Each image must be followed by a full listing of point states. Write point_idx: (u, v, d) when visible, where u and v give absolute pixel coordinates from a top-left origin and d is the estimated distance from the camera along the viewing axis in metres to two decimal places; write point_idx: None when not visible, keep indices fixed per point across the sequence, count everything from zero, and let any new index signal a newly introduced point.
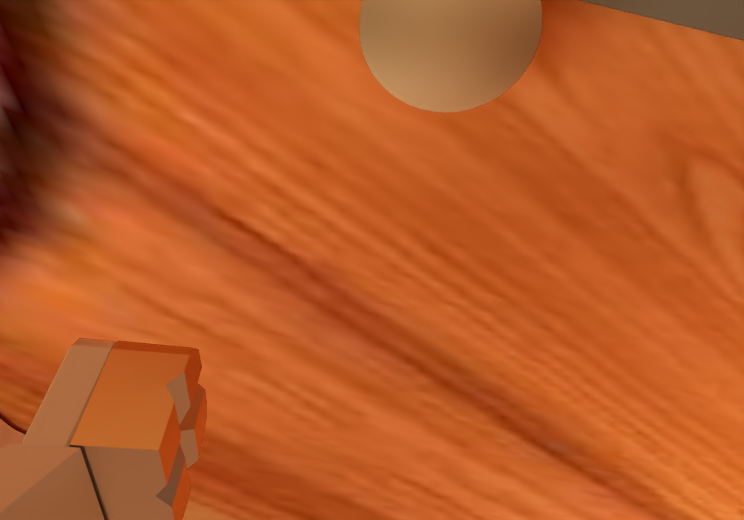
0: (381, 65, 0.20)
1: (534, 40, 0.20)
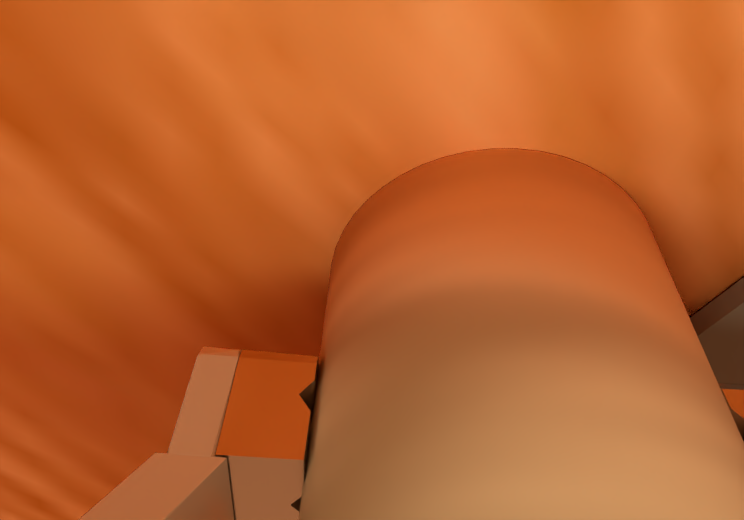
0: None
1: None
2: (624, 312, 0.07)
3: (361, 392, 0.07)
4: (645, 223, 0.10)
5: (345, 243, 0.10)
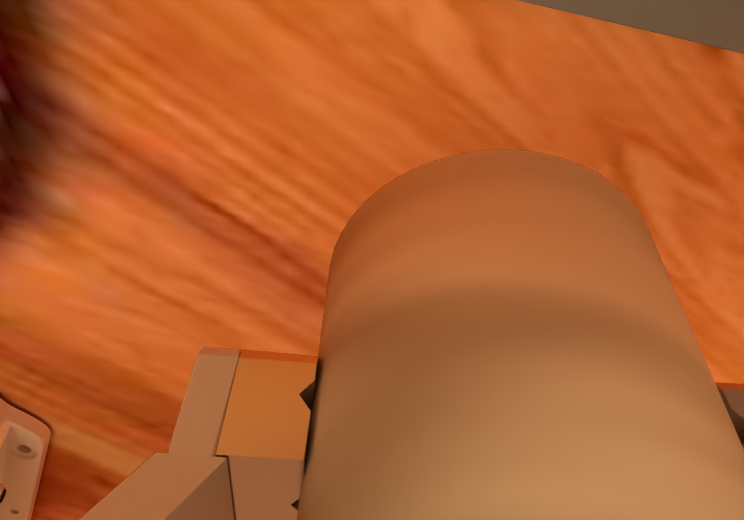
0: None
1: None
2: (621, 313, 0.07)
3: (359, 392, 0.07)
4: (643, 224, 0.10)
5: (344, 244, 0.10)
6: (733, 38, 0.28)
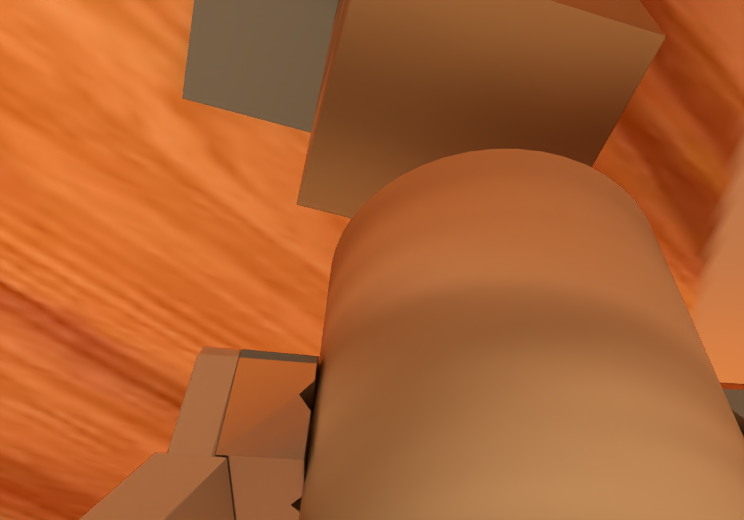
0: None
1: None
2: (627, 313, 0.07)
3: (362, 393, 0.07)
4: (647, 223, 0.10)
5: (345, 244, 0.10)
6: None
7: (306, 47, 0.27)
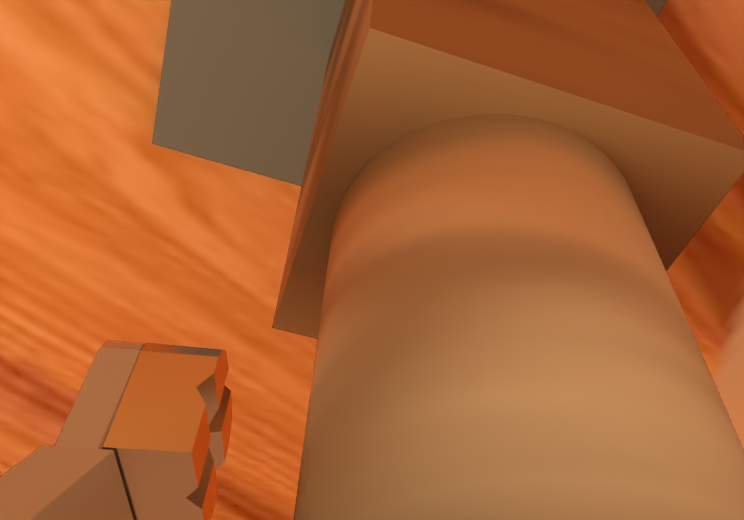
0: None
1: None
2: (600, 252, 0.08)
3: (361, 325, 0.08)
4: (625, 184, 0.10)
5: (345, 204, 0.11)
6: None
7: (294, 93, 0.23)
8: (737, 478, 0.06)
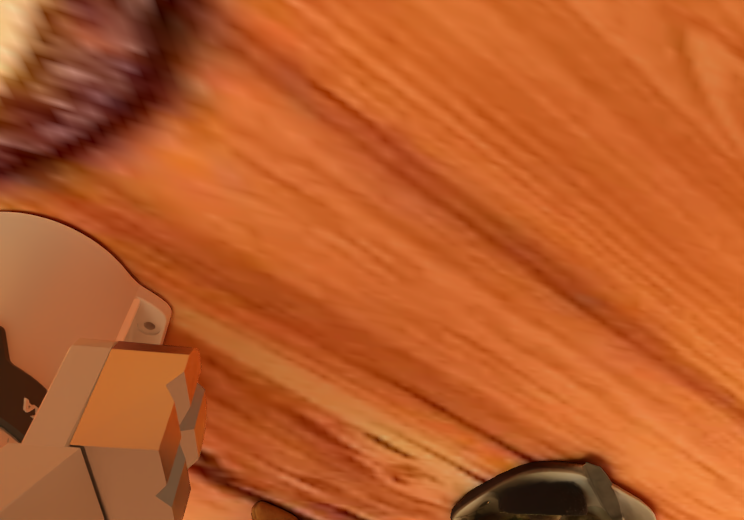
0: None
1: None
2: None
3: None
4: None
5: None
6: None
7: None
8: None
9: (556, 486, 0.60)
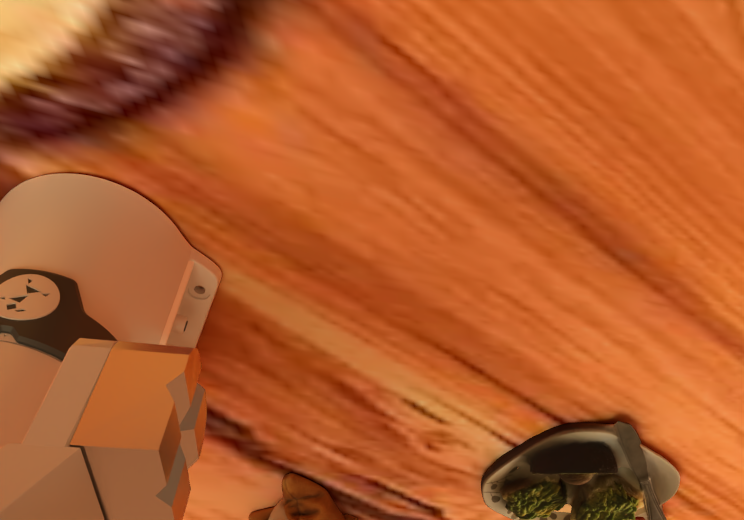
0: None
1: None
2: None
3: None
4: None
5: None
6: None
7: None
8: None
9: (588, 446, 0.63)
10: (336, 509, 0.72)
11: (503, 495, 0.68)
